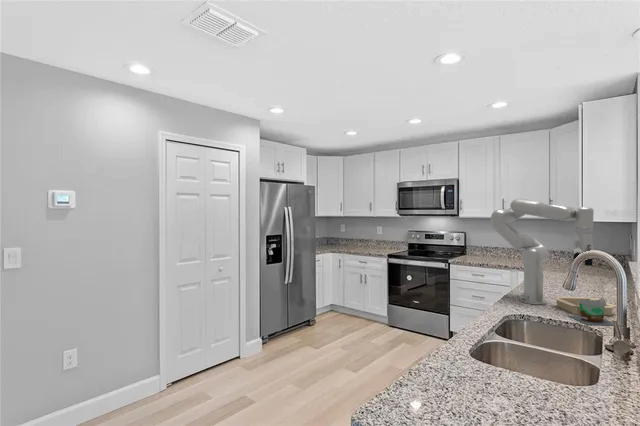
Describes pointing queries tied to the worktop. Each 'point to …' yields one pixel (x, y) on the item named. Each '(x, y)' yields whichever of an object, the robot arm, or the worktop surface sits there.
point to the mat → (604, 323)
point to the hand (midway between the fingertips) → (582, 263)
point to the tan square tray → (574, 307)
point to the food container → (592, 310)
